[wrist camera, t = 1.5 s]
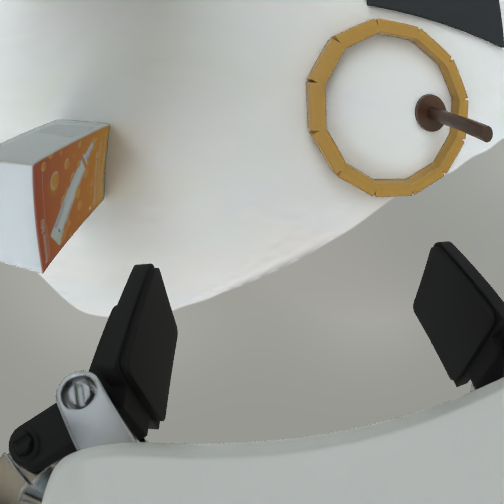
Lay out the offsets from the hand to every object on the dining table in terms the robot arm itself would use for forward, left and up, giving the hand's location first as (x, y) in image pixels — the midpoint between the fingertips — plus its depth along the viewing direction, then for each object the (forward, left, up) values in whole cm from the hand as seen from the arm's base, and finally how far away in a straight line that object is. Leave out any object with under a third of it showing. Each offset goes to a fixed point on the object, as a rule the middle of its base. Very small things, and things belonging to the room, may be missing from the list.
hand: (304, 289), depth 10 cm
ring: (-4, +13, -20) cm, 24 cm away
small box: (-2, -18, -20) cm, 27 cm away
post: (-4, +18, -20) cm, 27 cm away
